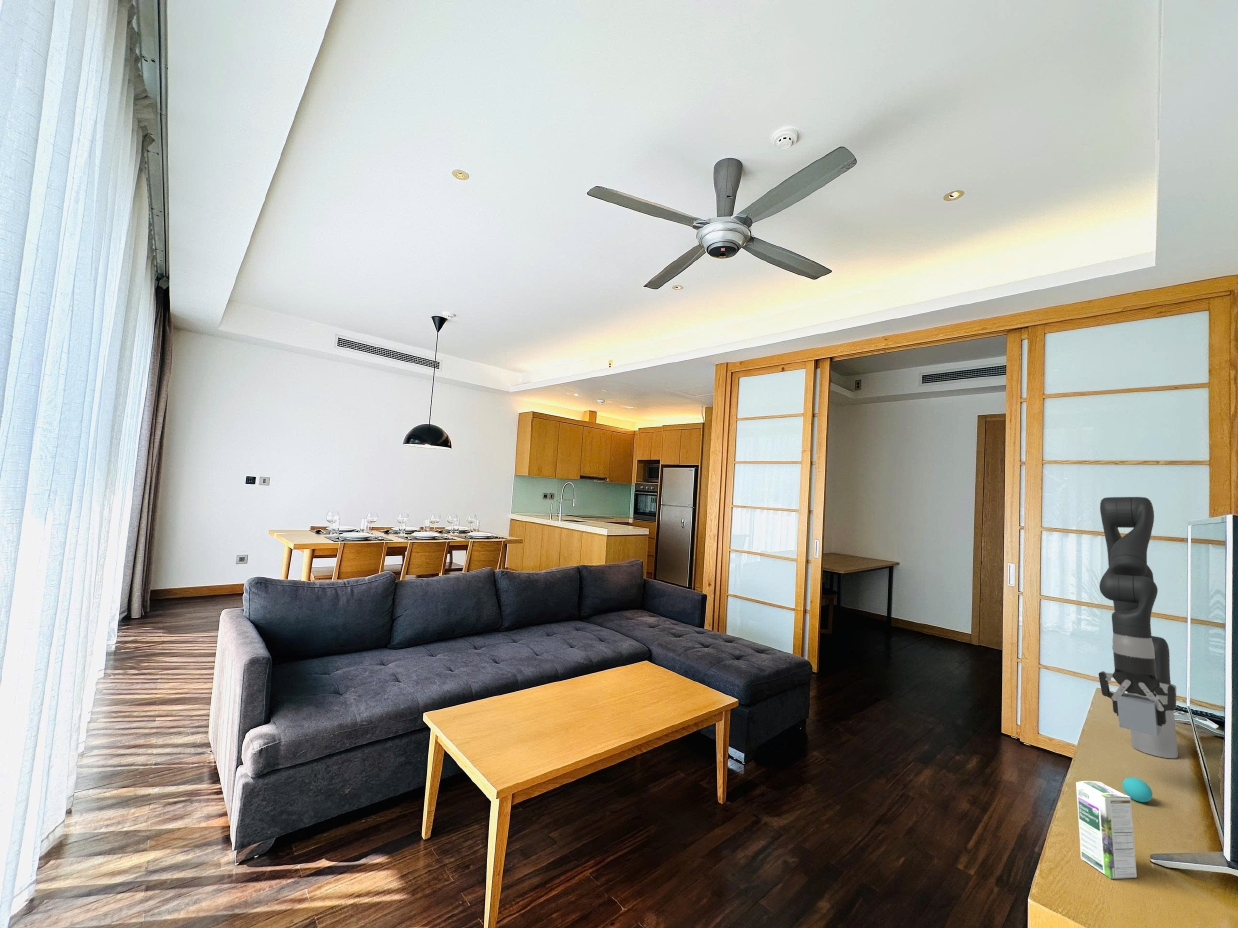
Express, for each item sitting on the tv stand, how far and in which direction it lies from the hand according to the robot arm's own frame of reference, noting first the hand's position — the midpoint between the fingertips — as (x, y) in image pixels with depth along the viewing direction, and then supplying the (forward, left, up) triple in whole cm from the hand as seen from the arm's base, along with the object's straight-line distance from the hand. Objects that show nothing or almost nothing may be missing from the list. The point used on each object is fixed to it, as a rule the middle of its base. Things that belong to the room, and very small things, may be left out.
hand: (1139, 720), depth 125 cm
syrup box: (+49, +1, -17) cm, 52 cm away
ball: (+10, 0, -14) cm, 17 cm away
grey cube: (0, 0, -2) cm, 2 cm away
